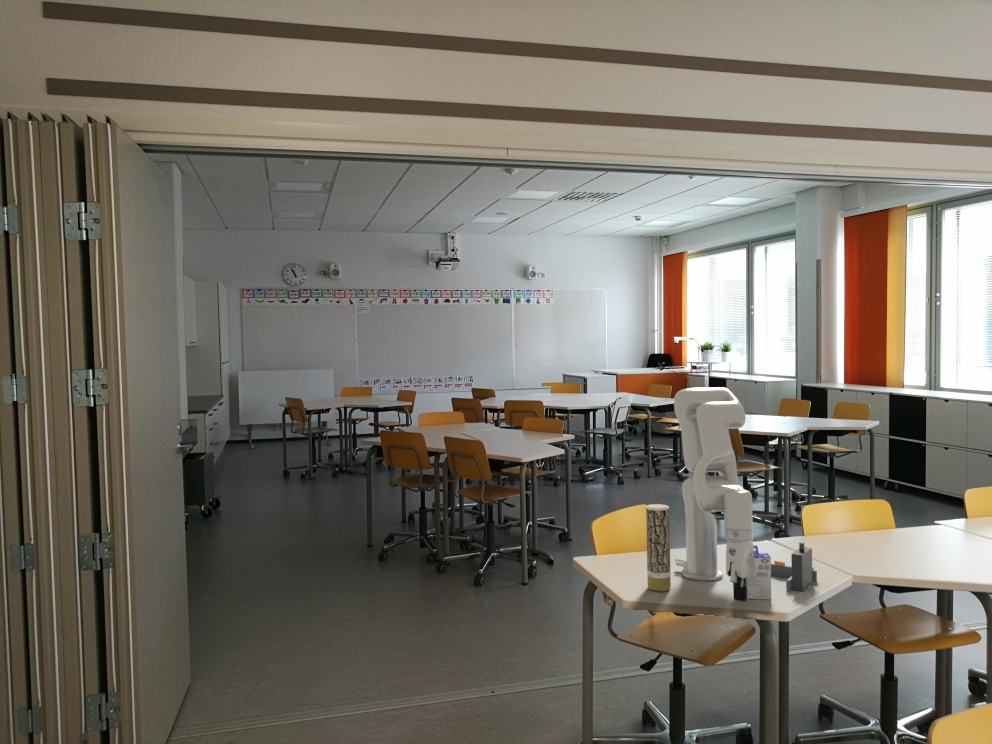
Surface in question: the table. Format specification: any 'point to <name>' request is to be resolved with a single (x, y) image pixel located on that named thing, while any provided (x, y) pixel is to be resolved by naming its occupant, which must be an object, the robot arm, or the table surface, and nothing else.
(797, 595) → the table surface
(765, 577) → the ink cartridge box
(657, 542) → the paper tube
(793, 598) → the table surface
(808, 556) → the grey bracket fixture
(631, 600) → the table surface
